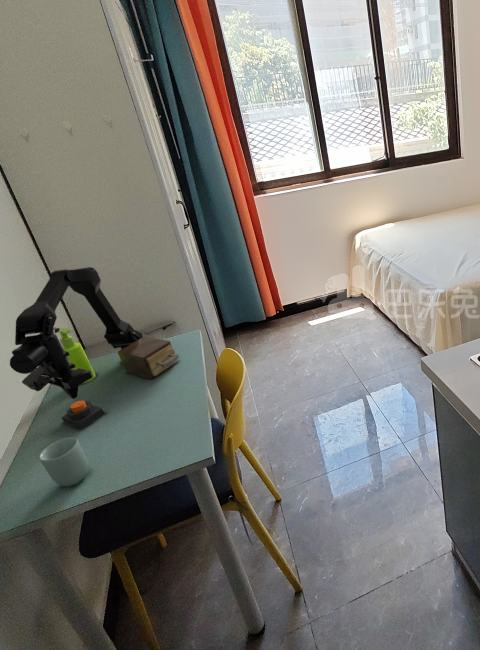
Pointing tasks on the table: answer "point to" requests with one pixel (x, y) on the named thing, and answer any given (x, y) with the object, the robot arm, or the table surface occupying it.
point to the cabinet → (141, 355)
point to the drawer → (162, 360)
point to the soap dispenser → (75, 352)
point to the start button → (78, 406)
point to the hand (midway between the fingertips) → (74, 397)
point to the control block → (83, 415)
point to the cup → (65, 461)
